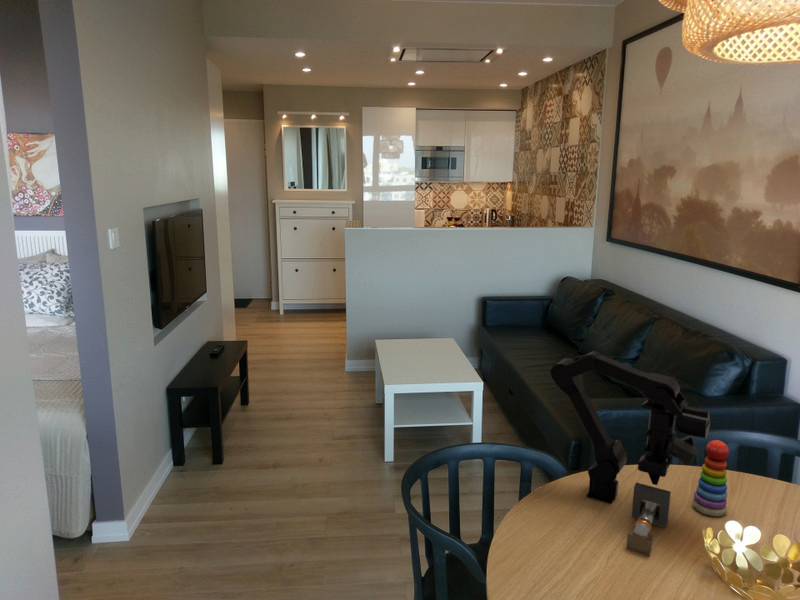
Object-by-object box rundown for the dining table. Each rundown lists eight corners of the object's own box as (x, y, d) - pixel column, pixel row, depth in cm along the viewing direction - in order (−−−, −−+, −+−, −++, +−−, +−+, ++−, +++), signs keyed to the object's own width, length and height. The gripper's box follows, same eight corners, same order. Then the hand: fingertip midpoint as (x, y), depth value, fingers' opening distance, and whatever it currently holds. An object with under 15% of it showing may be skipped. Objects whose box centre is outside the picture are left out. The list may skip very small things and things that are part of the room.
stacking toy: (731, 519, 142) (741, 450, 138) (697, 515, 143) (706, 447, 140) (720, 502, 150) (729, 436, 146) (687, 499, 151) (696, 433, 147)
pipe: (641, 510, 146) (643, 490, 145) (662, 516, 144) (664, 496, 142) (626, 549, 131) (628, 527, 130) (649, 556, 129) (651, 534, 127)
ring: (633, 512, 144) (636, 482, 143) (667, 522, 140) (670, 491, 138) (631, 517, 143) (634, 486, 141) (665, 527, 138) (669, 496, 136)
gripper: (692, 450, 129) (685, 512, 132) (701, 421, 144) (694, 477, 147) (640, 438, 135) (634, 497, 138) (654, 411, 150) (648, 465, 153)
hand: (655, 484), depth 144 cm, fingers closed
